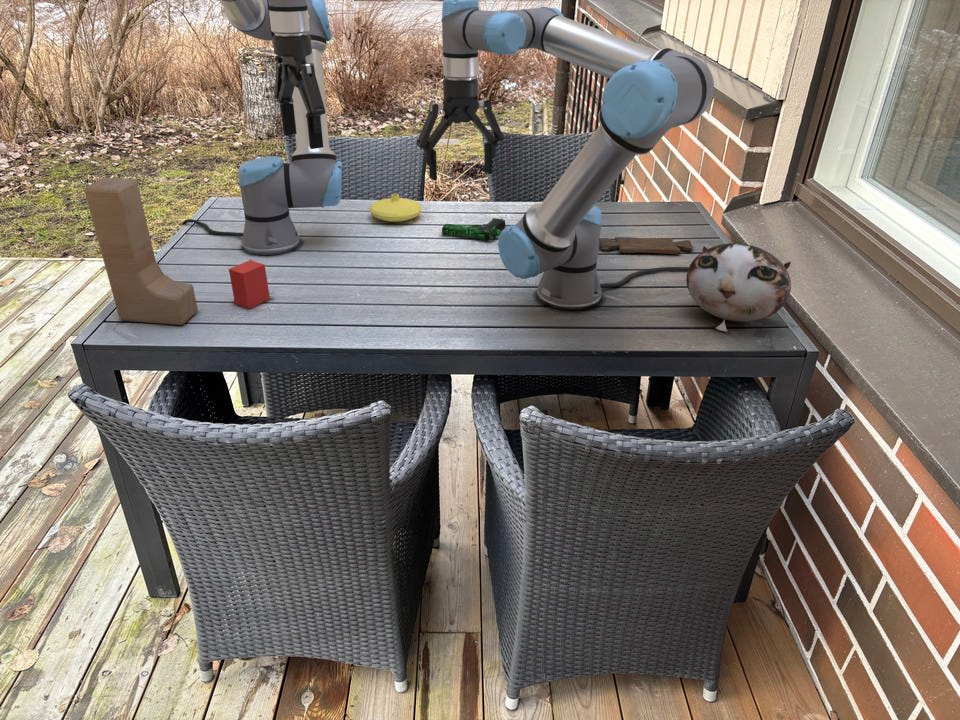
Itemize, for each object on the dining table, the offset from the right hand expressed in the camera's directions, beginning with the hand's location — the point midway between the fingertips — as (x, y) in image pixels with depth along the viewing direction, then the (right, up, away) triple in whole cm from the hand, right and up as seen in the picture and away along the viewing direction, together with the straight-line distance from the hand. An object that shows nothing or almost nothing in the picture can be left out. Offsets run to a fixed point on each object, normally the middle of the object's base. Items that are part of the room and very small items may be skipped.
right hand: (461, 175), depth 164 cm
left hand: (-34, +5, -10) cm, 36 cm away
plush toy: (+61, -33, -1) cm, 70 cm away
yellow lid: (-21, +1, +53) cm, 57 cm away
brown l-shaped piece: (-67, -33, -5) cm, 75 cm away
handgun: (+3, -5, +44) cm, 44 cm away
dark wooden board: (+51, -11, +35) cm, 62 cm away
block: (-49, -29, +3) cm, 57 cm away
